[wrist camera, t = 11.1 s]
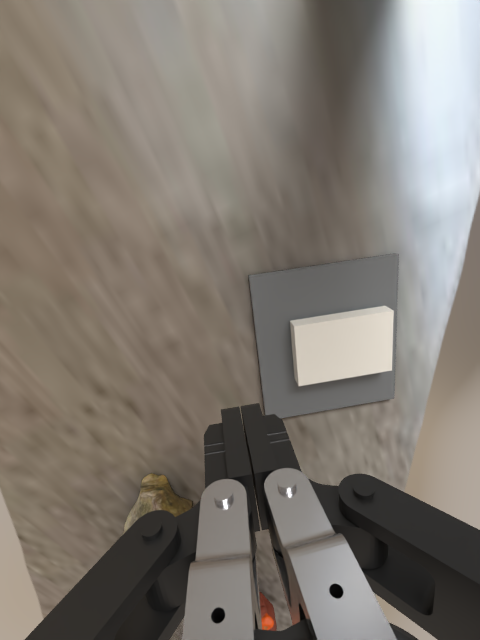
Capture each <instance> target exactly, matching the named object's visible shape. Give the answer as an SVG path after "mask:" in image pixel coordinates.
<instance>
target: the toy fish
mask: <svg viewBox="0 0 480 640" xmlns="http://www.w3.org/2000/svg"><path fill="white" fill-rule="evenodd" d="M259 597H260V609H261V621H262V630H271V631H276V621H275V613H274V608H273V605H272V604H271V603H270V602H269V601H268V599H266V597H265V596H264V595H263V594H262V593H261V592H260V591H259Z"/></svg>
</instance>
